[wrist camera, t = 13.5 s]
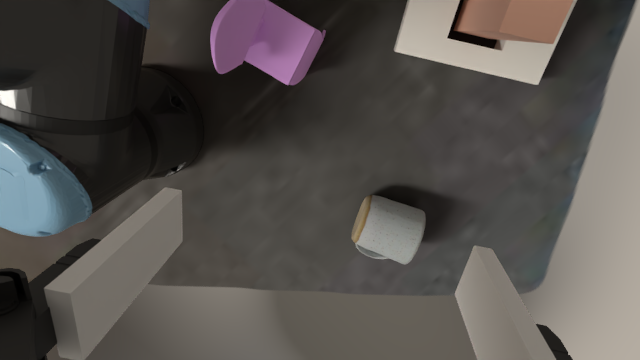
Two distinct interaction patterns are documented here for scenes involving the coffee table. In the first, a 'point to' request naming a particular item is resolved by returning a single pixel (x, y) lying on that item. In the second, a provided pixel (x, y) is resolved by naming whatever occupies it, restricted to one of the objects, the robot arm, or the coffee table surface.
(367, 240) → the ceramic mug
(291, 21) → the toy chair
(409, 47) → the socket block
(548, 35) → the peg
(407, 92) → the coffee table surface
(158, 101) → the robot arm
